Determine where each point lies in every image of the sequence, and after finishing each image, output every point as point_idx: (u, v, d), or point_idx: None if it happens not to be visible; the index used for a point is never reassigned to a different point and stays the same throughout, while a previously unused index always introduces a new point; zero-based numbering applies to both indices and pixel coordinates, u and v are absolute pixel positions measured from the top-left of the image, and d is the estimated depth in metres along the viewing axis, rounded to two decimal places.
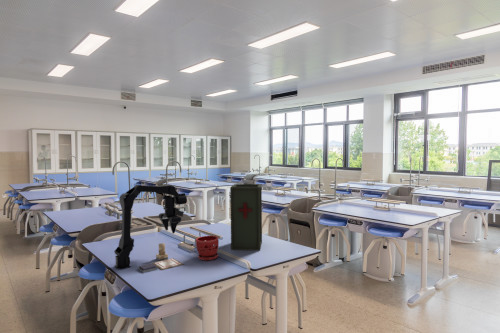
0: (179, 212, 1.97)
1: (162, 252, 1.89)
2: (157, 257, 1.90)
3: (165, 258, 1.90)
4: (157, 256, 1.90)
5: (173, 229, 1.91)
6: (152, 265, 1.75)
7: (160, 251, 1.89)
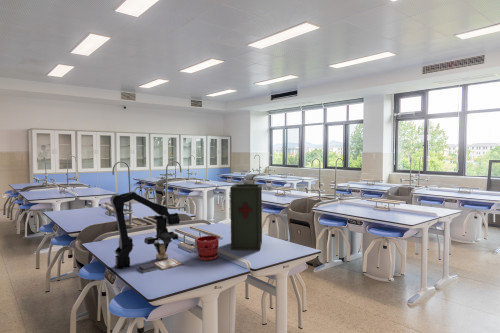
0: (161, 236, 1.85)
1: (162, 252, 1.89)
2: (157, 257, 1.90)
3: (165, 258, 1.90)
4: (157, 256, 1.90)
5: (156, 249, 1.89)
6: (152, 265, 1.75)
7: (160, 251, 1.89)
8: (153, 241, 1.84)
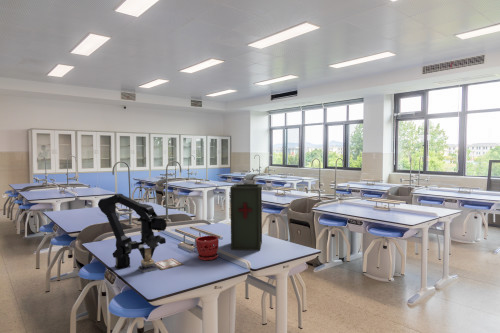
0: (146, 240, 1.68)
1: (148, 258, 1.72)
2: (142, 263, 1.73)
3: (151, 264, 1.73)
4: (142, 262, 1.73)
5: (141, 254, 1.72)
6: None
7: (145, 256, 1.72)
8: (137, 246, 1.67)
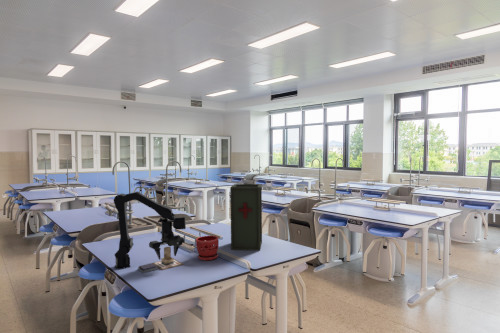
0: (167, 240, 1.76)
1: (168, 256, 1.80)
2: (162, 261, 1.81)
3: (171, 262, 1.81)
4: (162, 260, 1.81)
5: (157, 254, 1.78)
6: (152, 265, 1.75)
7: (165, 255, 1.80)
8: (158, 245, 1.75)
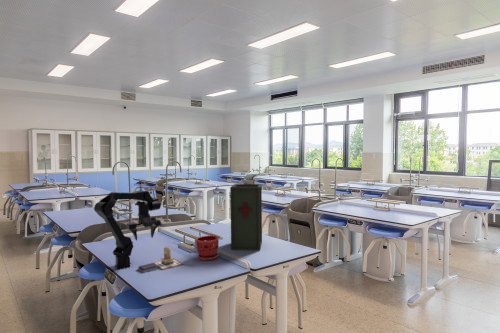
0: (143, 221, 1.84)
1: (168, 256, 1.80)
2: (162, 261, 1.81)
3: (171, 262, 1.81)
4: (162, 260, 1.81)
5: (134, 236, 1.87)
6: (152, 265, 1.75)
7: (165, 255, 1.80)
8: (135, 226, 1.83)
